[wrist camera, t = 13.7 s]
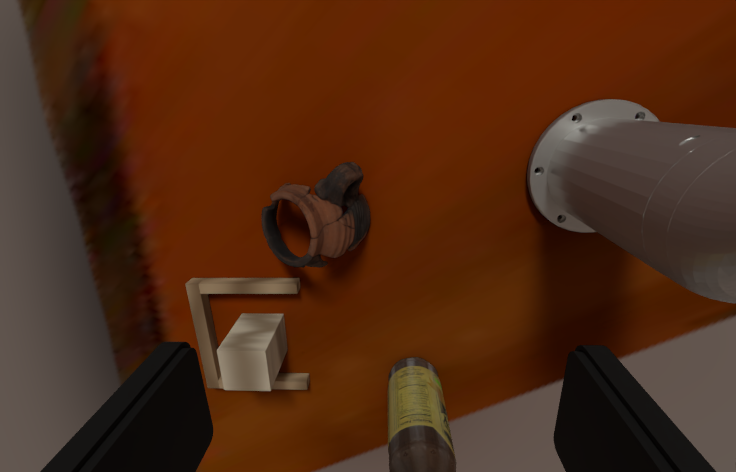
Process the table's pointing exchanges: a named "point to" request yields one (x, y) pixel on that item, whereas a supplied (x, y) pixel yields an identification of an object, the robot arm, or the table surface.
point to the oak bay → (205, 325)
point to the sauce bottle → (418, 420)
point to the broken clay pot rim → (322, 216)
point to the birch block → (253, 352)
